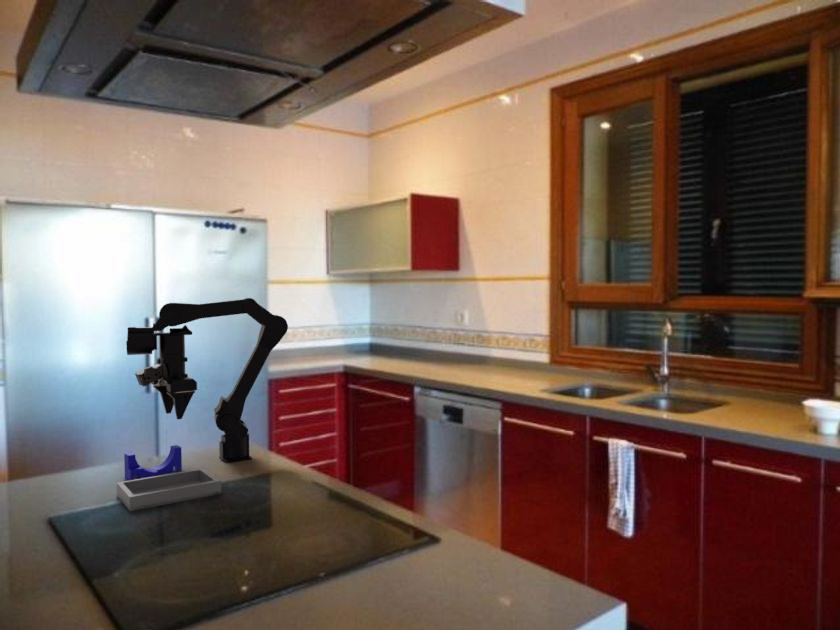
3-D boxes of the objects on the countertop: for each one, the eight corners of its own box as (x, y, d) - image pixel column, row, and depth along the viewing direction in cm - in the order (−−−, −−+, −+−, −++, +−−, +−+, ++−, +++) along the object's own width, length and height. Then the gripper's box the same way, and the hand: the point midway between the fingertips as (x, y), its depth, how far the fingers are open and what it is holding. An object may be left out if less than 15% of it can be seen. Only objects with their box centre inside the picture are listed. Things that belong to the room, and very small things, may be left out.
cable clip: (130, 483, 146) (130, 457, 146) (124, 479, 149) (124, 453, 149) (184, 473, 153) (183, 448, 153) (177, 469, 157) (176, 445, 157)
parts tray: (203, 481, 146) (203, 468, 146) (221, 494, 137) (221, 480, 137) (116, 496, 136) (116, 482, 136) (129, 512, 126) (129, 497, 126)
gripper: (128, 352, 163) (130, 414, 163) (147, 358, 148) (149, 426, 148) (174, 349, 169) (175, 409, 170) (197, 355, 154) (198, 420, 155)
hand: (173, 416), depth 161 cm, fingers open, 9 cm apart
